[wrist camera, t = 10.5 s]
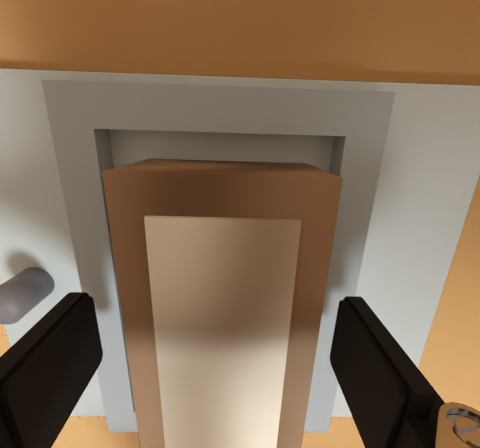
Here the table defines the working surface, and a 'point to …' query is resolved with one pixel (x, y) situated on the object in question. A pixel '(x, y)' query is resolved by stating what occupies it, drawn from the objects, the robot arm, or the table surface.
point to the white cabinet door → (233, 149)
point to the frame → (221, 295)
